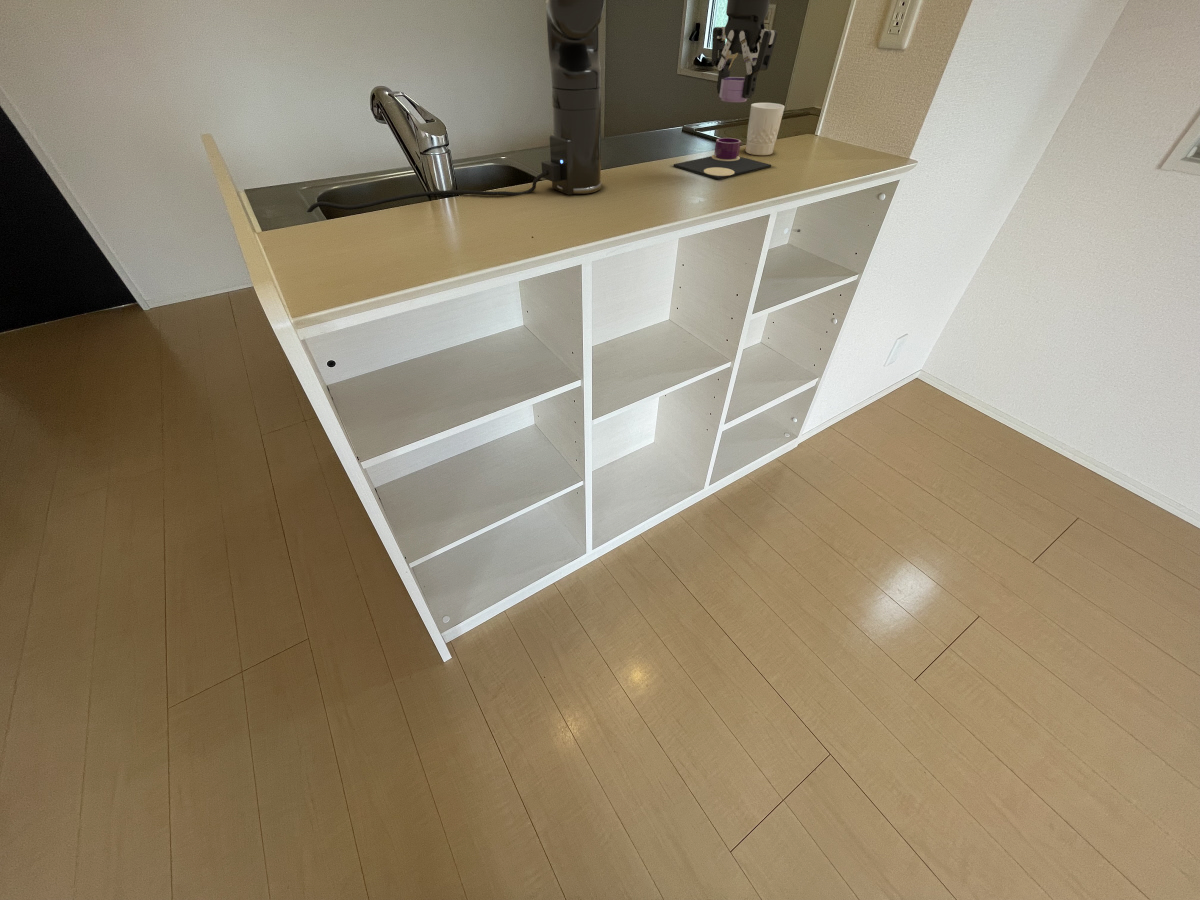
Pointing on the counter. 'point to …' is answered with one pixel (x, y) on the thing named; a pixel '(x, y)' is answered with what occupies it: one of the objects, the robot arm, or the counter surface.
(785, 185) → the counter surface
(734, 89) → the lilac dish
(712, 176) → the mat
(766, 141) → the white cup
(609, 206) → the counter surface
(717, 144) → the plum dish
